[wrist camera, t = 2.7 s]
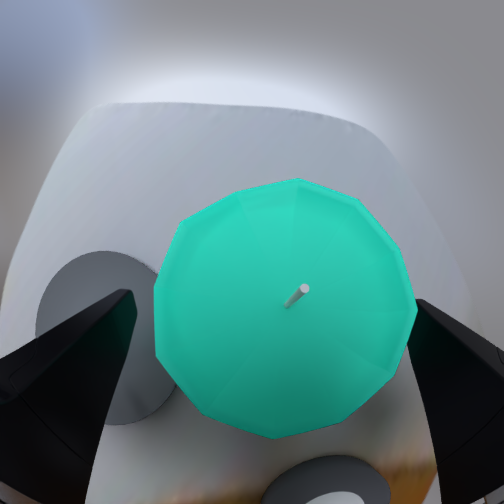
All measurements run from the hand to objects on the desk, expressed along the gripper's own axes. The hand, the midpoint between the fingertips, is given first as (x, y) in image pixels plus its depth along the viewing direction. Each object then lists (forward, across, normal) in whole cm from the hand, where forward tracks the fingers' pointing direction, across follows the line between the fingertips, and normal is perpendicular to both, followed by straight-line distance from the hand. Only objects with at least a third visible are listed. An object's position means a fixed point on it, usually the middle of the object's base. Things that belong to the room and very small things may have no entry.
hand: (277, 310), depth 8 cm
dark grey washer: (-3, -4, +14) cm, 15 cm away
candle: (+6, 0, +6) cm, 8 cm away
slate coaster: (+4, +10, +7) cm, 13 cm away
